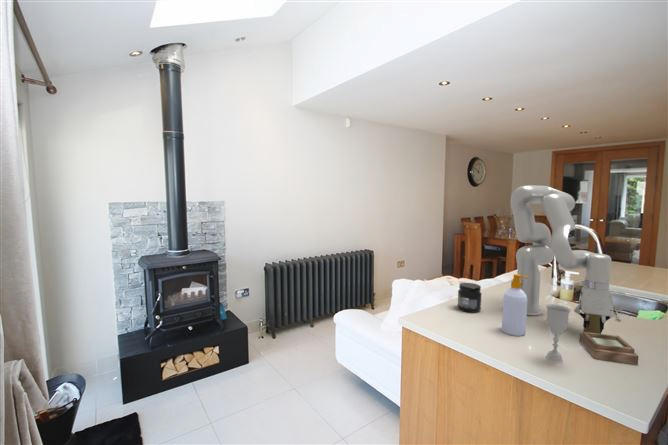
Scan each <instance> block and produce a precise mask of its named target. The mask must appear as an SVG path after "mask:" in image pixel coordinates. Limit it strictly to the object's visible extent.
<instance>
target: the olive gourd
mask: <svg viewBox="0 0 668 445" xmlns="http://www.w3.org/2000/svg"><path fill="white" fill-rule="evenodd" d="M588 315H589V320H588V321H590V323H589V327H588V330H587V325H586V328H584V327H583V330H582V333H581V334H583V332H589V333H598V334H602V333H601V331H600V318H601V315H592V314H588Z"/></svg>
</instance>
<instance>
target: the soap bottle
mask: <svg viewBox="0 0 668 445" xmlns="http://www.w3.org/2000/svg"><path fill="white" fill-rule="evenodd" d="M519 278H527V279H529V277H526V276H521V275H519V274H517V273H513V278H512V280H511V282H510V288H508V289H507V290H505V291H504V294H503V298H502V302H503V303H502V318H501V331H502V332H503V333H505V334H508V335H511V336H515V337H516V336H517V337H521V336H525V335H526V330H527V329H526V327H527V316H528V315H527V296H526V294H525V293H524V291H522V290H521V282H520V280H519Z"/></svg>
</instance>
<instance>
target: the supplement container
mask: <svg viewBox="0 0 668 445" xmlns="http://www.w3.org/2000/svg"><path fill="white" fill-rule="evenodd" d="M458 288H459V289H458V291H457V293H458V294H457V308H458V309H459V310H461V311H462V312H465V313H471V314H473V313H474V314H475V313H479V312H480V311H481V309H482V292H481V291H482V288H481V285H479V284H477V283H473V282H461V283H459V286H458Z"/></svg>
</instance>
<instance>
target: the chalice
mask: <svg viewBox="0 0 668 445" xmlns="http://www.w3.org/2000/svg"><path fill="white" fill-rule="evenodd" d="M545 307H546V309H547V311H546V322H547V325H548V328H549V330H550V332H551V334H553V335H554V337H553V338H552V340H553V343H552V346H553V349H551V350H550V351H548V353H546V356H545V358H546V359H547V361H548V360H549V361H551V362H553V363H557V364H558V363H560V364H562V363H564V359H563V357H562V354H561V353H560V352H559V351H558V347H559V345H558V342H559V336H561V335H562V334H563V333H564V332H565V330H566V328H567V327H568V325H569V315H570V312H571V308H569V307H567V306H565V305H562V304H561V305H560V304H557V303H556V304H555V303H547V304H545Z"/></svg>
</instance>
